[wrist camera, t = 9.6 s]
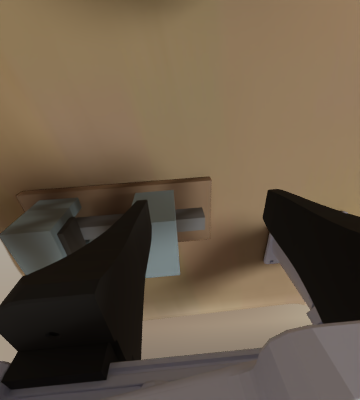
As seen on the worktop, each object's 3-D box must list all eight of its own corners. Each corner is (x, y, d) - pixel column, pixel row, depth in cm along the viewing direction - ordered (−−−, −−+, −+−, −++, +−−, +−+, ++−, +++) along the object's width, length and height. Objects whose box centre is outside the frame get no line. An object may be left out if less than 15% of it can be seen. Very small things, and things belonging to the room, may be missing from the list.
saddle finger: (173, 190, 20) (175, 220, 15) (177, 237, 23) (180, 274, 19) (130, 193, 20) (119, 225, 15) (140, 240, 23) (133, 279, 18)
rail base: (209, 176, 21) (225, 208, 15) (208, 234, 25) (220, 276, 19) (22, 191, 20) (-34, 229, 15) (51, 247, 24) (16, 294, 19)
